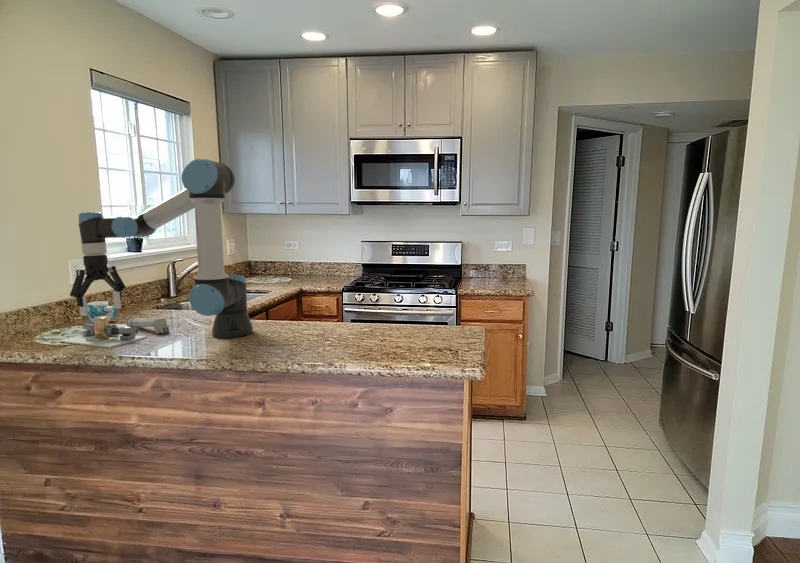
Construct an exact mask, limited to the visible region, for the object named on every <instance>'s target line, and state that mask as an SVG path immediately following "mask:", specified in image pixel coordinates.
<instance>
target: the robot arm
mask: <svg viewBox="0 0 800 563" xmlns="http://www.w3.org/2000/svg"><path fill="white" fill-rule="evenodd" d="M181 182H182V185H183V186H184V189H183V190H181V191H179V192H178V193H175V194H174V195H172V196H170V197H169V198H167V199H165V200H163V201H161V202H160V203H158V204H155V205H154V206H152V207H150V208H148V209H147V210H145V211H144V212H142V213H140V214H137V215H135V216H129V215H128V216H126V215H123V216H122V215H120V216H119V215H118V216H107V217H105V216H103V213H102V212H100V211H90V212H89V211H87V212H86V211H84V212H80V213H79V214H78V227H79V234H80V242H81V243H80V244H81V251H82V254H83V255H84V256H83V257H82V261H83V266H84V267H85V268H84V269H76V271H75V272H76V277H75V279H74V282H73V285H72V289H71V290H70V293H69V296H70V297H72V298H76V306H77V307H79V314H80V316H82V317H83V316H87V317H88V310H87V297H86V296H85V295H86V293H87V292H88V289H89V288H90V286H91V285H92V284H93V283H94V281H99V280H103V281H104V282H106V284H107V285H109V286H110V287H111V289H113V290H114V291H112V297H113V298H112V300H113V305H114V307H115V308H116V309H117V310H118V309H119V310H120V309H122V298H123V297H122V296H123V295H122V292H123V291H124V289H126V287H127V286H126V285H125V283H124V282H123V280H122V278H121V276H120V275H119V273H118V272H117V268H116V267H117V266H115V265H109V266H108V264H109V261H108V260H109V259H108V255H107V251H108V250H107V244H106V239H108V238H110V239H111V238H113V239H115V238H116V239H117V238H118V239H119V238H122V239H124V238H132V237H147V236H151V235H154V234H155V232H156V231H157V229H159V228H160V227H162V226H164V225H166V224H169V222H171V221H173V220H176V219H177V218H179V217H180V216H182V215H184V214H186V213H188V212H190V211H191V210H194V220H195V234H196V235H195V237H196V238H195V239H196V252H197V256H196V257H197V274H196V275H195V276H194V277H193V284H194V285H193V287H192V289H191V290H190V292H189V294H188V300H189V301H188V302H189V304H190V306H191V308H192V309H193V310H194V311H195V312H196V313H197V314H199V315H201V316H205V317H211V316H215V317H214V320H213V325H212V328H211V336H212V337H214V338H217V339H218V338H220V339H232V338H231V337H234V338H240V337H239V336H241V337H245V336H244V335H246V336H248V335H247V334H249V335H251V334H253V333H254V327H253V324H252V322H251V321H252V320H251V318H250V316H249V314H248V300H247V299H248V298H247V281H246V277H245V276H244V275H240V274H239V275H236V274H235V275H234V274H232V275H231V274H227V273H226V271H225V266H224V262H225V261H224V244H223V229H222V228H223V226H222V225H223V224H222V206H221V205H222V204H223V203H224V201H225V200H226V197H225V196H226V195H227V194H229V193H230V192H231V191H232V190H233V189H234V186H235V183H236V177H235V174H234V172H233V170H232V169H231V168H230V166H228V165H227V164H225V163H222V162H219V161H218V162H217V161H214V160H211V159H207V158H206V159H204V158H198V159H197V158H196V159H193V160H191V161H189V162H188V163H186V165H184V167H183V169H182V172H181ZM108 272H109V273H108ZM252 332H253V333H252ZM250 333H251V334H250Z"/></svg>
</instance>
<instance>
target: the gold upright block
mask: <svg viewBox="0 0 800 563" xmlns="http://www.w3.org/2000/svg"><path fill="white" fill-rule="evenodd" d="M93 320H94V323H93V324H94V331H95V338H99V339H101V340H106V339H109V338H110V337H108V336H107V335H106V328H107V326H108V325H110V320H109V318H108V317H107V316H102V317H95V318H93Z"/></svg>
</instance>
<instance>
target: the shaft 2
mask: <svg viewBox="0 0 800 563" xmlns="http://www.w3.org/2000/svg"><path fill="white" fill-rule="evenodd" d="M138 334H139V327H138V328H137V327H128V326H126V327H125V326H124V327H123V326H122V327H121V326H120V327H119V326H117V325H116V324H115V323H114V324H112V323H111V324H110V323H109V325H108V326H107V328H106V335H107V336H108V337H115V336H116V335H122V336H120V340H123V341H128V340H131V339H133V338H135V336H138Z"/></svg>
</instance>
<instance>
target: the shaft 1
mask: <svg viewBox="0 0 800 563" xmlns="http://www.w3.org/2000/svg"><path fill="white" fill-rule="evenodd" d="M82 329H83V330H84V331H82V335H83V336H86V337H88V336H94V335H95V331H94V323H89V322H85V323H84V324H82Z"/></svg>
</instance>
